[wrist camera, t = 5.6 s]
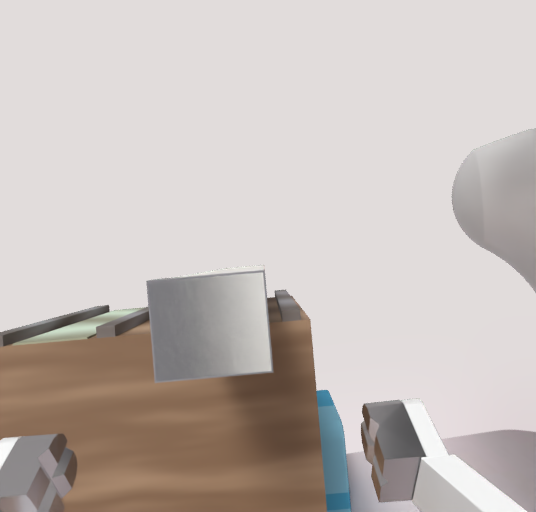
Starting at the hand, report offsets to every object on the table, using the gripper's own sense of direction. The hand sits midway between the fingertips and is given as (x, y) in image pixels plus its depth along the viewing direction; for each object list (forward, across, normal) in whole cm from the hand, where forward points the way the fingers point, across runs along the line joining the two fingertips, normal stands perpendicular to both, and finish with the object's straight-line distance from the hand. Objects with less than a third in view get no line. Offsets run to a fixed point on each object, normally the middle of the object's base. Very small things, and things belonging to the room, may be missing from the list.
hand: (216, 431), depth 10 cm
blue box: (+17, -6, +39) cm, 43 cm away
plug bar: (+11, 0, +5) cm, 13 cm away
